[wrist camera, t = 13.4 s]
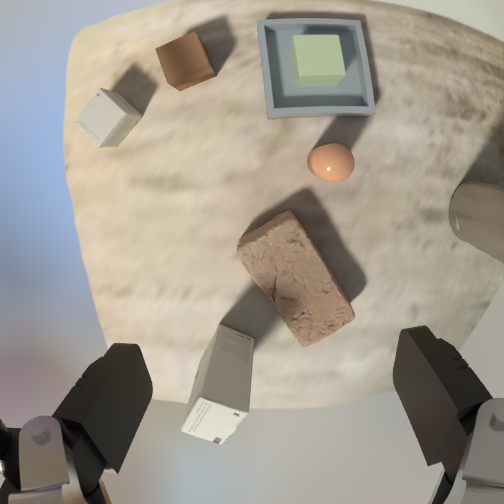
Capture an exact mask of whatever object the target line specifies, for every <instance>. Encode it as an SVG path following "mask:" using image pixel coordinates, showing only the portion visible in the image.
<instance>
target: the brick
mask: <svg viewBox="0 0 504 504" xmlns="http://www.w3.org/2000/svg"><path fill="white" fill-rule="evenodd" d="M237 256H238V258H239V259H240V261H241V262H242V263H243V265H244V267H245V269H246V270H247V271H248V273H249V274H250V276H251V277H252V279H253V280H254V281H255V282H256V284H257V285H258V286H259V287H260V288H261V289H262V291H263V292H264V293H265V294H266V295H267V296H268V298H269V300H270V301H271V302H272V303H273V304H274V305H275V307H276V309H277V311H278V313H279V314H280V315H281V316H282V318H283V320H284V322H285V323H286V324H287V327H288V328H289V329H290V331H291V332H292V334H293V335H294V336H295V338H296V339H297V340H298V342H299V343H300V345H301V346H302V347H306V346H309V345H311V344H313V343H315V342H318V341H320V340H322V339H323V338H325V337H327V336H329V335H331V334H333V333H334V332H336V331H337V330H338V329H340V328H341V327H343V326H344V325H346V324H347V323H349V322H351V321H352V320H354V319H355V314H354V311H353V309H352V307H351V304H350V302H349V300H348V298H347V297H346V295H345V293H344V292H343V290H342V289H341V287H340V285H339V283H338V282H337V280H336V278H335V276H334V275H333V273H332V272H331V270H330V268H329V267H328V266H327V264H326V262H325V261H324V259H323V257H322V256H321V254H320V252H319V251H318V249H317V248H316V246H315V245H314V244H313V242H312V240H311V239H310V237H309V236H308V234H307V233H306V231H305V230H304V228H303V226H302V225H301V223H300V222H299V221H298V219H297V218H296V216H295V215H294V214H293V212H292V211H291V210H287V211H284V212H282V213H281V214H277V215H276V216H275V217H274V218H273V219H272V220H270V221H268V222H266V223H265V224H263V225H262V226H261V227H258V228H256V229H254V230H251V231H249V232H248V233H246V234H245V235H244V236H242V237H241V238H240V240H239V243H238V245H237Z"/></svg>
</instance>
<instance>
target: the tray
mask: <svg viewBox="0 0 504 504" xmlns="http://www.w3.org/2000/svg"><path fill="white" fill-rule="evenodd" d="M256 21H257V30H258V38H259V46H260V54H261V63H262V71H263V80H264V89H265V98H266V107H267V117H268V119H279V118H295V117H319V116H370V115H373V114H375V113H376V111H375V103H374V95H373V88H372V81H371V74H370V68H369V62H368V57H367V51H366V46H365V41H364V36H363V31H362V27H361V22H360V20H347V19H328V18H288V19H268V20H256ZM293 35H338V36H339V41H340V46H341V51H342V56H343V61H344V67H345V72H346V75H345V76H344V77H343V78H342V79H341V80H340V82H339V83H338V84H337V85H315V86H295V79H294V72H293V66H292V59H291V53H290V48H291V42H292V37H293Z"/></svg>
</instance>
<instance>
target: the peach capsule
mask: <svg viewBox="0 0 504 504" xmlns="http://www.w3.org/2000/svg"><path fill="white" fill-rule="evenodd" d="M307 163H308V167H309V169H310V171H311V172H312V173H313V174H314V175H316V176H317V177H320V178H322V179H325V180H327V181H330V182H342V181H344V180H346V179H347V178H349V177H350V175H351V174H352V172H353V170H354V157H353V155H352V153H351V151H350V150H349V149H348V148H347V147H345V146H344V145H342V144H338V143H331V144H326V145H322V146H318V147H316V148H314V149H313V150H312V151H311V152H310V153H309V155H308V159H307Z"/></svg>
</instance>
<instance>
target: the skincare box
mask: <svg viewBox="0 0 504 504" xmlns="http://www.w3.org/2000/svg"><path fill="white" fill-rule="evenodd" d="M253 351H254V338H252V337H250V336H248V335H245V334H243V333H240V332H238V331H236V330H234V329H232V328H229V327H227V326H225V325H223V324H219V325H218V327H217V329H216V332H215V334H214V336H213V338H212V340H211V342H210V344H209V346H208V348H207V350H206V352H205V353H204V355H203V356H202V358H201V360H200V363H199V367H198V370H197V374H196V377H195V381H194V384H193V388H192V391H191V395H190V399H189V402H188V407H187V411H186V414H185V417H184V421H183V424H182V427H181V431H183V432H185V433H188V434H191V435H193V436H197V437H200V438H203V439H206V440H209V441H212V442H215V443H219V444H223V443H224V442H225V440H226V439H227V438H228V436H229V435H230V434H232V433H233V432H235V430H236V428H237V426H238V424H239V423H240V422H241V420H242V419H243V418H244V417H245V416H246V415H247V414H248V413H249V405H250V392H251V378H252V365H253Z"/></svg>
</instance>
